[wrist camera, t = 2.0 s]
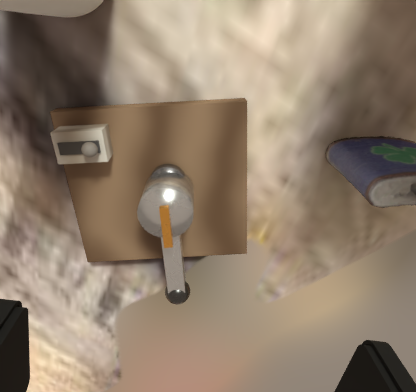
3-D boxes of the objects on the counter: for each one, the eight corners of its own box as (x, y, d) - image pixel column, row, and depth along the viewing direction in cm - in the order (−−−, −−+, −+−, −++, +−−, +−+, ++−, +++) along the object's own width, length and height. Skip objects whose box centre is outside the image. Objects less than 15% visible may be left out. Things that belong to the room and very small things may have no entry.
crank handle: (141, 165, 29) (131, 188, 25) (192, 162, 29) (190, 185, 25) (158, 285, 35) (153, 321, 31) (200, 283, 35) (201, 319, 31)
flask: (321, 163, 31) (377, 221, 22) (328, 133, 30) (390, 179, 21) (416, 168, 32) (512, 227, 22) (427, 138, 31) (533, 186, 21)
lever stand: (244, 98, 29) (252, 109, 24) (244, 244, 35) (251, 274, 31) (56, 108, 29) (31, 121, 24) (92, 253, 35) (77, 284, 31)
